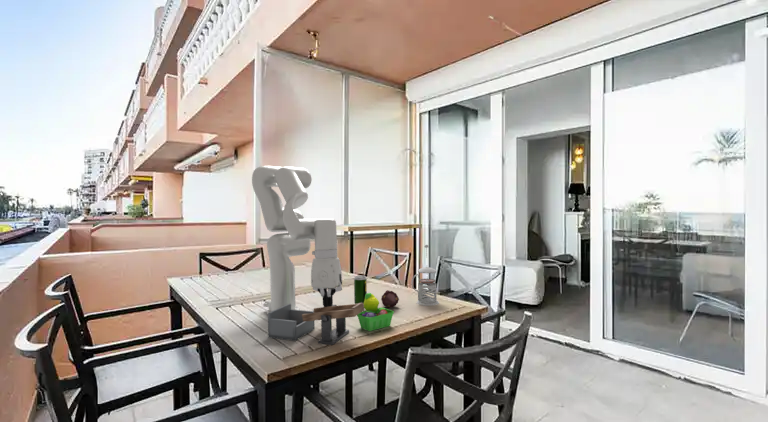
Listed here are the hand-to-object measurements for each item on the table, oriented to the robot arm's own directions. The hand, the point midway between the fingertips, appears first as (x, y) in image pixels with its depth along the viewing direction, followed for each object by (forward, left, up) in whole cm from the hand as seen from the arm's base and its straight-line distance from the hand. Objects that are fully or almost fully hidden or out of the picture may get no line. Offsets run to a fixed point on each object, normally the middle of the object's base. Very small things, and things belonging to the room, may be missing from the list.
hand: (327, 307), depth 127 cm
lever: (+6, -4, 0) cm, 7 cm away
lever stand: (+6, -8, -7) cm, 12 cm away
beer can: (-1, +32, -7) cm, 33 cm away
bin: (-9, -8, -7) cm, 14 cm away
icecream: (+12, +32, -7) cm, 35 cm away
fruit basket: (+15, +6, -7) cm, 18 cm away
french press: (+25, +42, -7) cm, 49 cm away
